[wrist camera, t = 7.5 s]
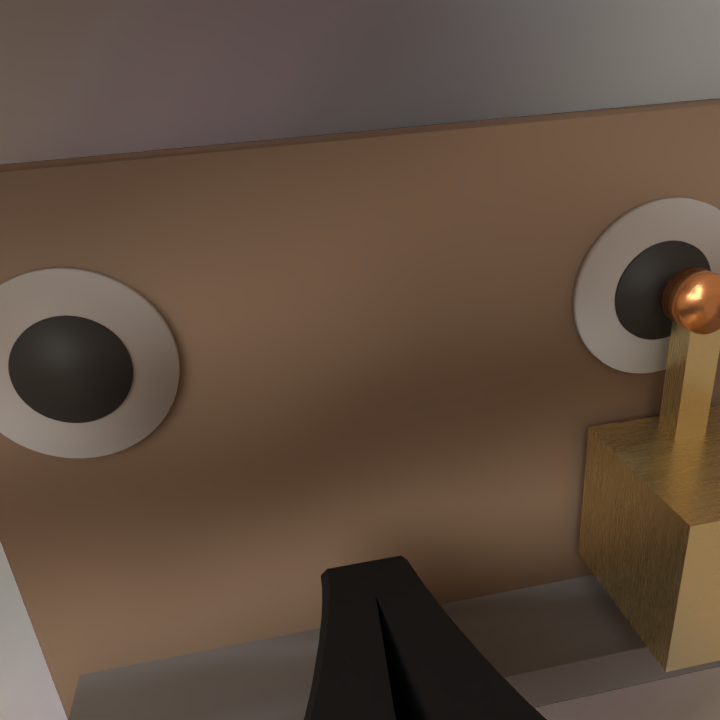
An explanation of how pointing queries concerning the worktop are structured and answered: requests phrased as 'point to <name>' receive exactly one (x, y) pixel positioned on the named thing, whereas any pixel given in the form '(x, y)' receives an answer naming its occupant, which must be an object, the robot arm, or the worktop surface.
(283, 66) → the worktop surface
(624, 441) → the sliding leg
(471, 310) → the hole plate
